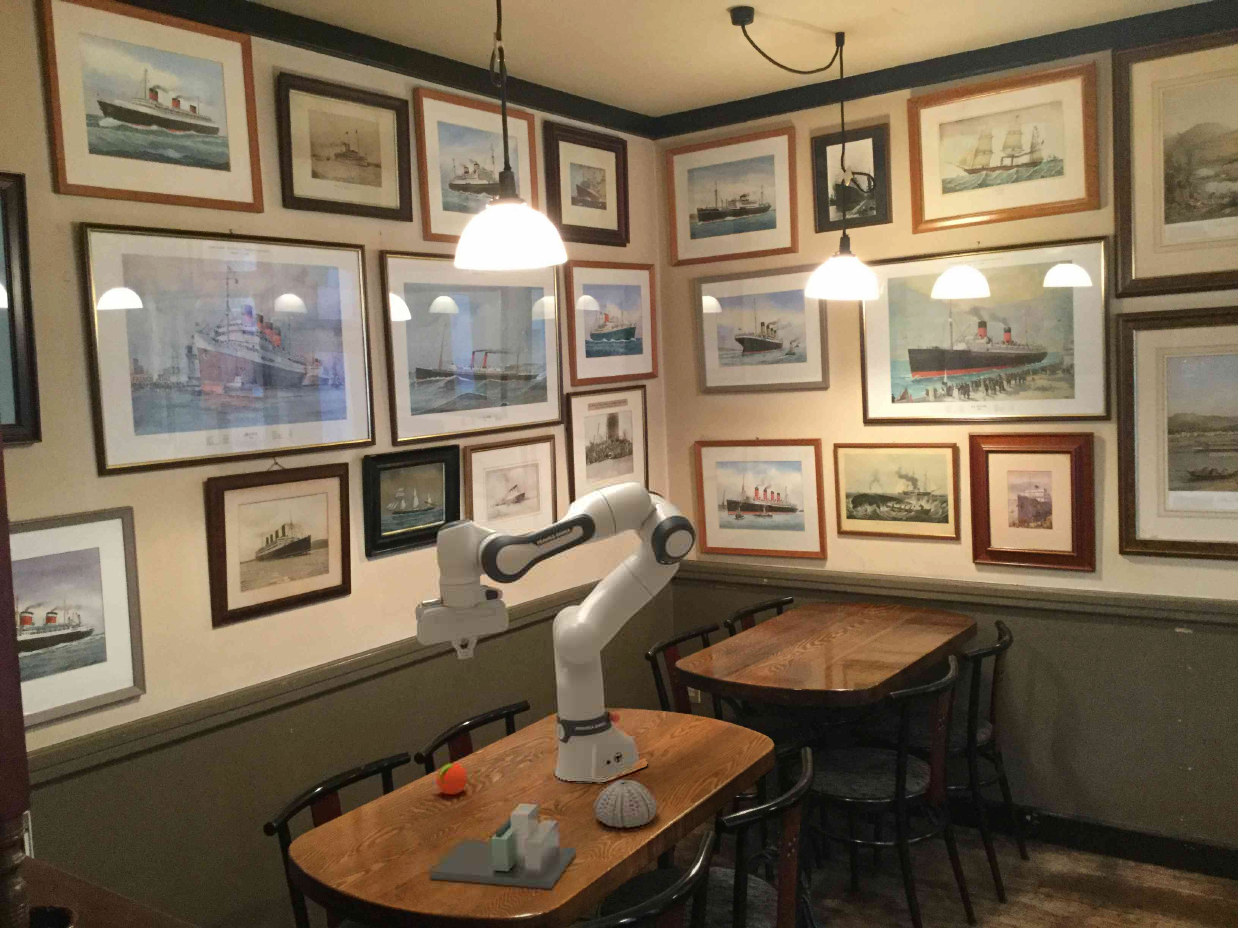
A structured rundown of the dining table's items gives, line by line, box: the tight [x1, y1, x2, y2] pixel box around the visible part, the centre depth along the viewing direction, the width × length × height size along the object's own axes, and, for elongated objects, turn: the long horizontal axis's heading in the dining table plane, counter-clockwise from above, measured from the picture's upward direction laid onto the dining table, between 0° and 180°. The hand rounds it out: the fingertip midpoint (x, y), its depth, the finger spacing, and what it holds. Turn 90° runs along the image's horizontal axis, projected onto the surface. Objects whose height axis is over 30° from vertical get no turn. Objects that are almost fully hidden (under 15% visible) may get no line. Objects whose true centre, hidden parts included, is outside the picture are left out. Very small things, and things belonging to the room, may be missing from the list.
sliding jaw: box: [490, 816, 513, 871], centre depth 191 cm, size 3×10×7 cm, turn 164°
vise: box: [429, 819, 576, 890], centre depth 191 cm, size 24×14×8 cm, turn 74°
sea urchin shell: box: [592, 779, 658, 829], centre depth 210 cm, size 13×14×8 cm
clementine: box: [436, 762, 468, 795], centre depth 230 cm, size 8×7×7 cm
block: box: [509, 803, 539, 867], centre depth 190 cm, size 4×5×10 cm
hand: (465, 657), depth 218 cm, fingers closed
